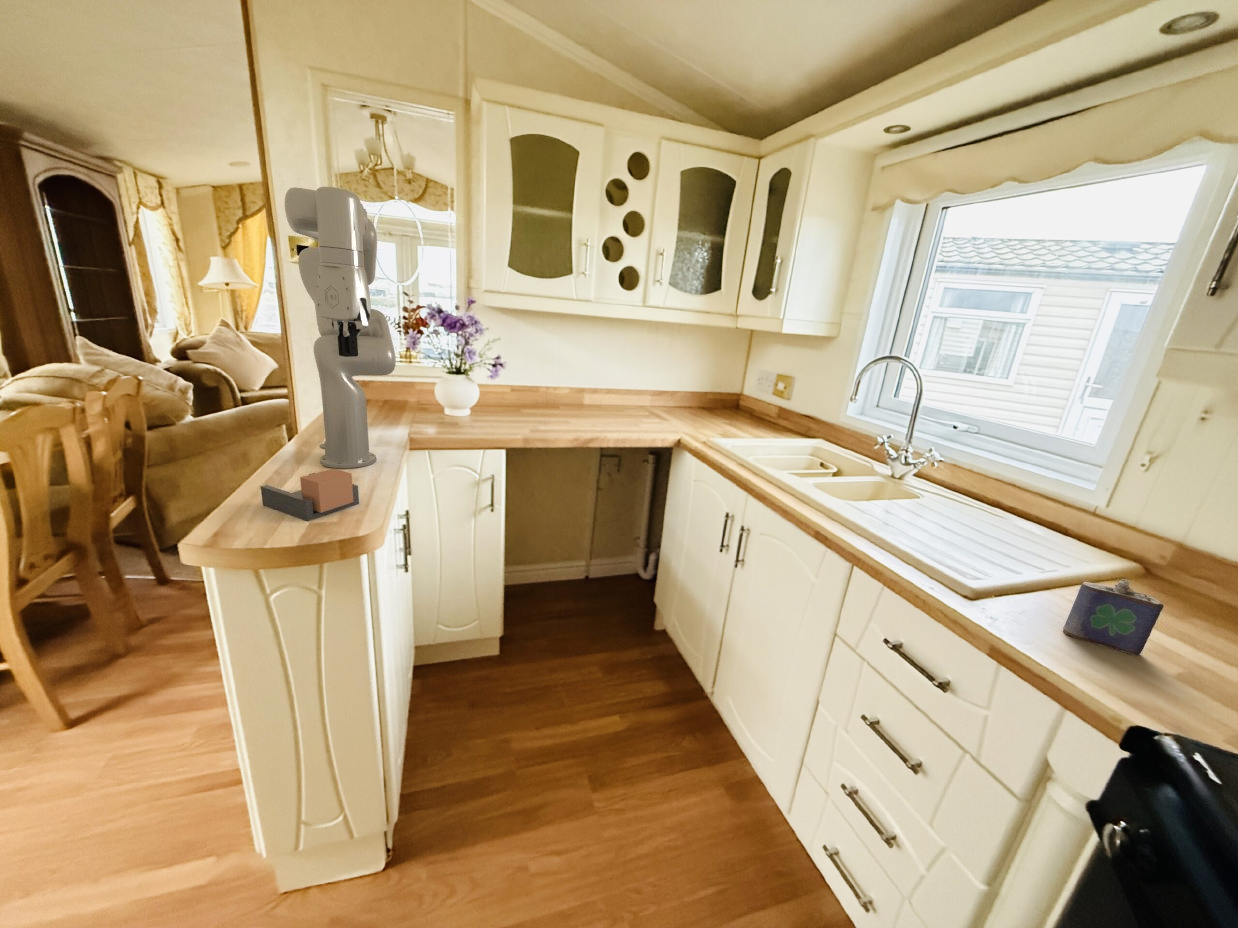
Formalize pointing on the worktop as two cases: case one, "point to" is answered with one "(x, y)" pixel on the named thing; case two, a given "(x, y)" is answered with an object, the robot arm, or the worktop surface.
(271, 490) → the chute
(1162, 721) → the worktop surface
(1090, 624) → the flask
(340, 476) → the block
